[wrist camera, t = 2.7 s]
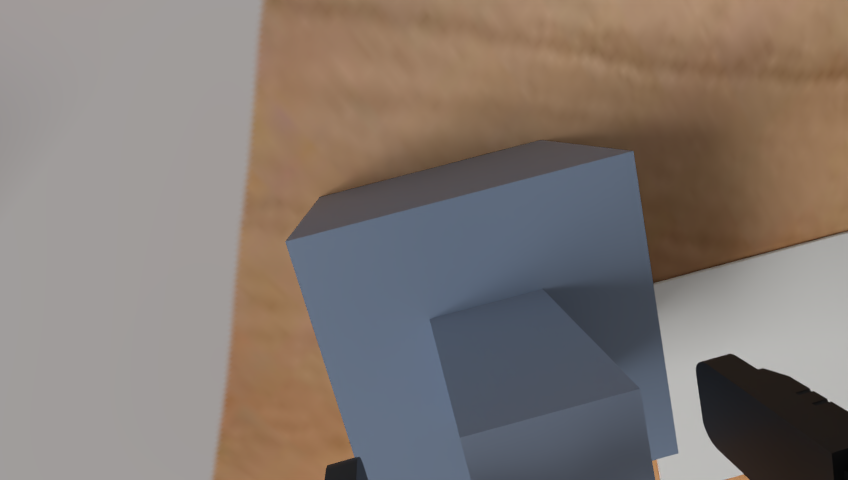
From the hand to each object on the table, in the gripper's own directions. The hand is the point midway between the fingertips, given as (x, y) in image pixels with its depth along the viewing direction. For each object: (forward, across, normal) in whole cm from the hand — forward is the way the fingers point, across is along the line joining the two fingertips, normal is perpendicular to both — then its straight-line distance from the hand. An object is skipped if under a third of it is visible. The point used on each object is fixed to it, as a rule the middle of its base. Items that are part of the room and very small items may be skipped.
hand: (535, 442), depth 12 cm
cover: (+13, 0, 0) cm, 13 cm away
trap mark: (+13, -14, +9) cm, 21 cm away
